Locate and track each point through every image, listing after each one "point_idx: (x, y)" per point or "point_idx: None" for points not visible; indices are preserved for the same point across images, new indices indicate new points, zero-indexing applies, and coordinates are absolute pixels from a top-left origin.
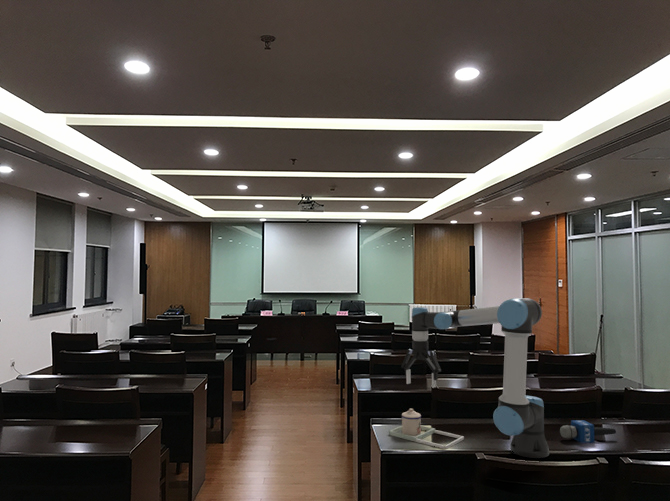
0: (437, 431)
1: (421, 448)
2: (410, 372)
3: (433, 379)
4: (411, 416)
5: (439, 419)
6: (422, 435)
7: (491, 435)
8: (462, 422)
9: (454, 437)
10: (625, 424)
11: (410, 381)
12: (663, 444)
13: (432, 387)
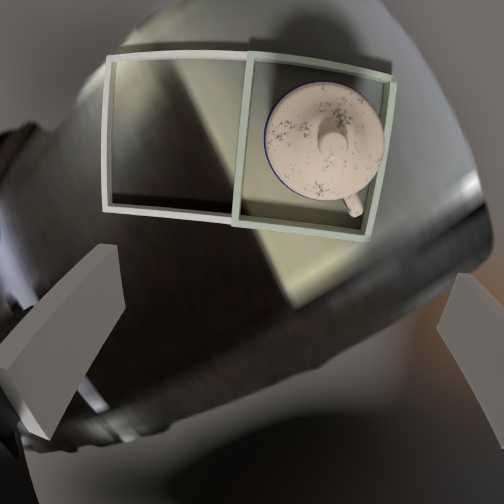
0: (216, 214)
1: (191, 3)
2: (487, 416)
3: (45, 303)
4: (303, 92)
5: (287, 370)
6: (241, 109)
7: None
8: (206, 375)
9: (140, 205)
10: None
11: (445, 336)
12: None
13: (110, 245)
